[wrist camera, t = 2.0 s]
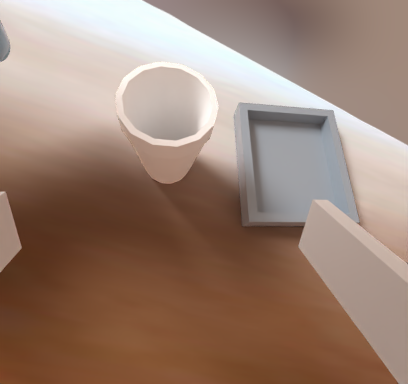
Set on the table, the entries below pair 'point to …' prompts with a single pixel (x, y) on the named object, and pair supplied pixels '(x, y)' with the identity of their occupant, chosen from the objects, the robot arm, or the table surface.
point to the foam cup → (166, 117)
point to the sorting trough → (289, 164)
